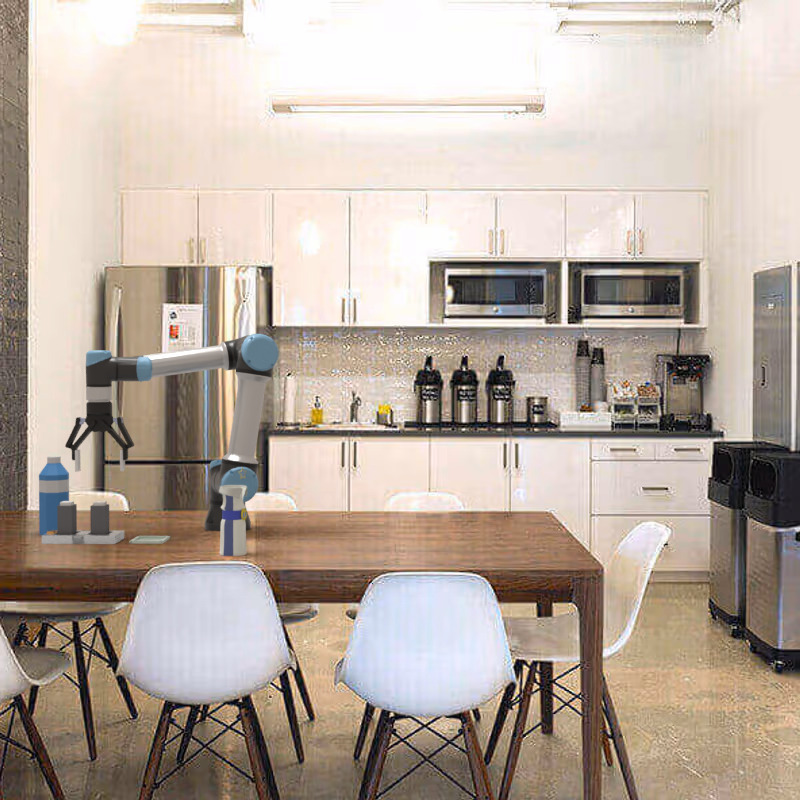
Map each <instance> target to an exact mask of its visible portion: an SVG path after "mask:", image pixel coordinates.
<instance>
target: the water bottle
mask: <svg viewBox="0 0 800 800" xmlns="http://www.w3.org/2000/svg"><path fill="white" fill-rule="evenodd" d="M46 459H47V460H46V464H45V465H44V467H43V468H42V469H41V471H40V473H39V474H38V509H39V510H38V517H39V520H38V521H39V522H38V524H39V528H38V529H39V530H38V532H39V536H42V535H44V534H46V533H47V531H50V530H57V506H58V505H60V502H62V501H70V473H69V472H68V470H67V469H66V468H65V466H64V465H63V464H62V461H61V456H59V455H57V456H56V455H55V456H53V455H52V456H47V457H46Z"/></svg>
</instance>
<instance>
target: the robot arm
mask: <svg viewBox="0 0 800 800" xmlns="http://www.w3.org/2000/svg"><path fill="white" fill-rule="evenodd" d="M279 352H280V351H279V347H278V345H277V343H276V341H274V339H273V338H271V337H270V336H268V335H266V334H262V333H252V334H248V335H244V336H241V337H239V338H235V339H231V340H225V341H221V342H220V343H219V345H212V346H203V347H196V348H188V349H180V350H174V351H173V350H172V351H167V352H166V351H165V352H158V353H151V354H145V355H136V356H135V355H134V356H113V355H112V354H113V353H112V351H111V350H105V349H104V350H97V349H96V350H95V349H94V350H88V351H87V352H86V354H85V366H84V367H85V385H86V386H85V395H86V396H85V397H86V398H85V400H87V401H88V402H86V403H85V404H86V407H85V409H86V413H85V414H86V416H85V418H84V417H81V416H77V417H75V423H74V424H75V425H74V426H73V428H72V431H71V433H70V434H69V437H68V439H67V441H66V443H65V446H64V447H65V448H67V449H70V451H71V460H72V461H74V470H75V471H74V472H76V473H78V472H80V471H81V449H78V448H80V446H81V444H83V443H84V441H85V440H86V439H87V437H89V435H90V434H91V433H92V432H93V433H99V432H100V433H105V432H107V433H108V434H109V435H110V436H111V437H112V438H113V440H115V442H116V443H117V444H118V445H119V446H120V448H121V449H119V471H120V472H124V471H126V461H127V460H128V459H129V450H130V448H133V447H135V443H134V441H133V439H132V437H131V435H130V434H129V431H128V429H127V428H126V426H125V423H124V417H123V416H119V417H114V416H113V402H112V400H113V387H112V386H113V383H112V382H141V383H142V382H149V381H151V380H152V378H153V379H154V378H159V377H166V376H174V375H181V374H183V375H184V374H187V373H188V374H189V373H195V372H202V371H204V372H206V371H211V370H217V369H223V370H224V371H233V370H235V375H236V376H237V378H238V379H239V380H238V385H237V390H236V391H237V392H236V399H235V403H234V405H235V406H234V411H233V416H232V422H231V423H232V424H231V430H230V435H229V443H228V449H227V453H226V454H225V455H224V456H222V457H221V459H215V460H211V461H210V463H209V470H208V471H209V508H208V511H207V513H206V516H205V517H206V518H205V520H204V530H205V531H208V532H220V531H221V521H222V509H221V506H222V504H223V495H222V493H219V489H220V486H224V485H245V486H247V491H248V493H247V496H245V495H244V497H243V503H244V505H245V508H246V510H247V507H246V502H249V501H250V500H252V499H253V498H254V497H255V496H256V494H257V492H258V489H259V478H258V468H259V461H258V460H257V459H256V457H255V456H256V449H257V444H258V437H259V430H260V424H261V418H262V411H263V406H264V405H263V404H264V397H265V392H266V384H267V383H268V382H269V381H270V380H272V379H273V378H272V377H273V371H274V366H276V364H277V362H278V360H279V355H280V353H279ZM114 423H115V425H117V427H118V429H119V430H120V433H121V435H122V436H123V438H122V437H121V435H119V434H118V432H117V431H116V430H115V428H114V427H113V426H112V425H113V424H114ZM84 424H86V425H87V426H86V428H85V430H84V431H83V433H82V434H81V435H80V436H79V437H78V439H76V438H77V436H78V434H79V432H80V430H81V427H82V425H84ZM123 439H124V440H123ZM75 440H76V441H75ZM242 467H243V470H244V471H247V472H246V473H245V477H246V478H242V479H240V477H241V474H240V473H239V472H240V471H241V470H242ZM245 522H246V531H247V530H250V529H251V528H252V527H251V526H252V525H251V523H252V522H251V519H250V516H249V513H248V510H247V517H246V519H245Z"/></svg>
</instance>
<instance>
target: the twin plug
mask: <svg viewBox="0 0 800 800" xmlns="http://www.w3.org/2000/svg"><path fill="white" fill-rule="evenodd" d="M77 510H78V509H77V504H76V503H75V501H74V500H69V501H62V502H60V505H58V506H57V535H74V534H76V533H77V530H78V529H77V527H78V526H77V525H78V521H77V518H78V513H77V512H78V511H77Z"/></svg>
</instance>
